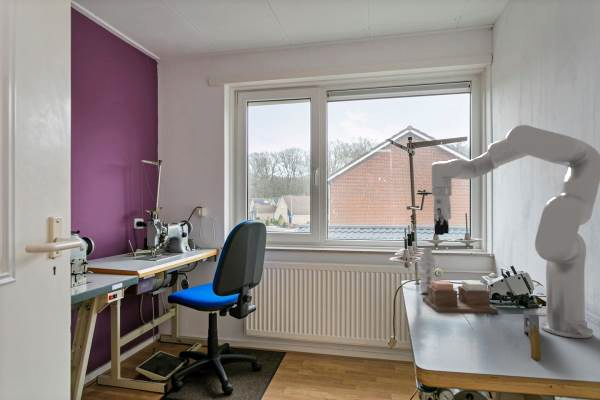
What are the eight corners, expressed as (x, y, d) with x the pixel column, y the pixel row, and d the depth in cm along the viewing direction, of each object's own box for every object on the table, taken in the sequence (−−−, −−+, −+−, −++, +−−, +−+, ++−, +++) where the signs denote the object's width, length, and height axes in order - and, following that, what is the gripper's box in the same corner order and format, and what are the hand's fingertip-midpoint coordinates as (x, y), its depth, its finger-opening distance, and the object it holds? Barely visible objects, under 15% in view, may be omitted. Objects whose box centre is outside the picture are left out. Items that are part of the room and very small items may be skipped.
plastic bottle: (416, 292, 155) (416, 248, 155) (427, 291, 158) (427, 247, 158) (427, 296, 149) (427, 250, 149) (438, 294, 152) (438, 249, 152)
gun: (536, 363, 104) (534, 312, 109) (544, 361, 84) (541, 299, 89) (524, 360, 105) (522, 310, 111) (529, 358, 86) (527, 297, 91)
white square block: (485, 297, 130) (485, 284, 130) (469, 297, 130) (469, 284, 130) (477, 293, 136) (477, 281, 136) (462, 293, 136) (462, 280, 136)
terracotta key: (453, 297, 130) (453, 284, 130) (437, 297, 131) (437, 284, 131) (447, 293, 136) (446, 280, 136) (431, 293, 137) (431, 280, 137)
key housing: (497, 313, 125) (497, 293, 125) (436, 312, 126) (436, 293, 126) (476, 301, 141) (476, 284, 141) (422, 300, 142) (422, 283, 142)
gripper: (446, 191, 131) (447, 235, 131) (455, 192, 146) (455, 233, 145) (426, 191, 136) (426, 234, 135) (436, 193, 150) (437, 232, 149)
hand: (441, 234), depth 140 cm, fingers open, 9 cm apart
